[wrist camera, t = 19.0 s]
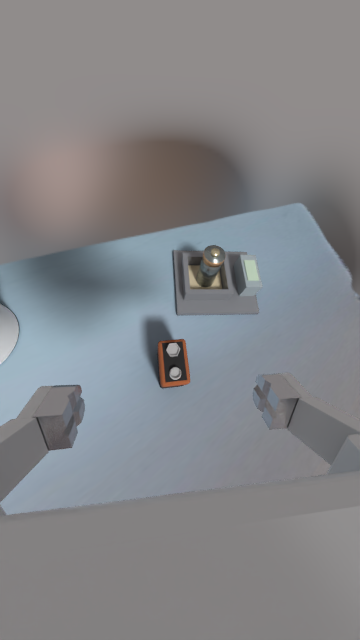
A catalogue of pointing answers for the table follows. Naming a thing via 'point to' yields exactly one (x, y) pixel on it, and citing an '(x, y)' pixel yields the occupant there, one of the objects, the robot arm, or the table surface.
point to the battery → (173, 363)
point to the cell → (210, 265)
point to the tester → (217, 285)
